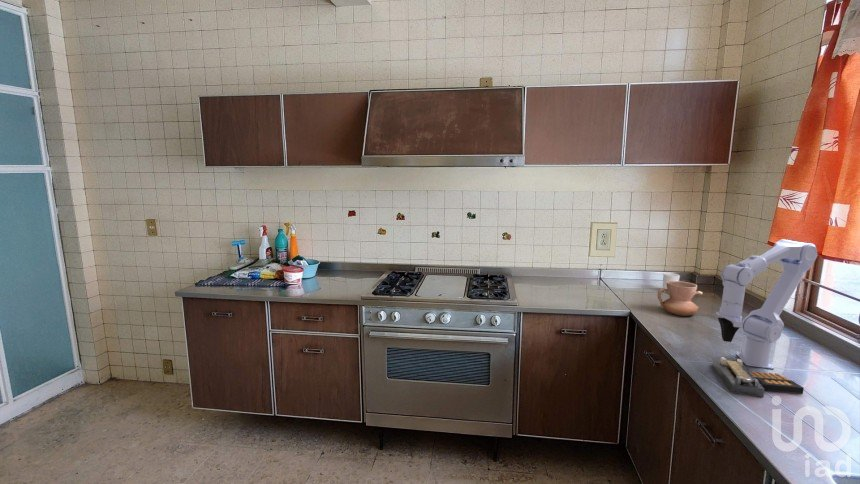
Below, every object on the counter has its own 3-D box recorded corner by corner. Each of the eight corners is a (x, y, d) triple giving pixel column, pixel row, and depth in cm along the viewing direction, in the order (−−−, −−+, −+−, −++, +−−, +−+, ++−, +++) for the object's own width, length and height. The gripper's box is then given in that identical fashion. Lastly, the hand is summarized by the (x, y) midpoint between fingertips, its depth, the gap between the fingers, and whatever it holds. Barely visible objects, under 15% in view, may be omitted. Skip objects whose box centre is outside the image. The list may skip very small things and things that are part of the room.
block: (712, 364, 145) (713, 353, 144) (739, 368, 142) (741, 356, 141) (731, 392, 127) (733, 378, 126) (763, 397, 124) (765, 383, 124)
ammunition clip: (803, 393, 126) (777, 376, 138) (804, 387, 126) (778, 370, 138) (763, 389, 128) (741, 373, 140) (763, 384, 128) (742, 367, 140)
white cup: (658, 290, 235) (660, 273, 233) (669, 289, 237) (671, 272, 236) (669, 294, 228) (672, 276, 226) (681, 293, 230) (683, 275, 228)
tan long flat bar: (725, 362, 140) (725, 359, 140) (735, 364, 139) (736, 360, 139) (741, 382, 126) (742, 379, 126) (753, 384, 125) (754, 380, 125)
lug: (720, 362, 141) (720, 356, 141) (739, 365, 139) (740, 359, 139) (721, 364, 139) (722, 359, 139) (742, 367, 137) (742, 361, 137)
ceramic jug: (696, 310, 201) (699, 281, 199) (703, 320, 188) (706, 289, 186) (654, 306, 208) (656, 278, 206) (657, 315, 195) (660, 285, 192)
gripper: (711, 294, 147) (706, 331, 150) (725, 306, 134) (719, 347, 136) (735, 296, 145) (729, 334, 147) (752, 309, 132) (745, 350, 134)
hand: (726, 340), depth 142 cm, fingers closed
